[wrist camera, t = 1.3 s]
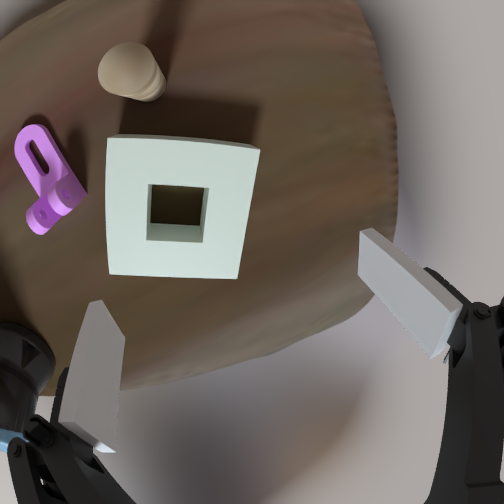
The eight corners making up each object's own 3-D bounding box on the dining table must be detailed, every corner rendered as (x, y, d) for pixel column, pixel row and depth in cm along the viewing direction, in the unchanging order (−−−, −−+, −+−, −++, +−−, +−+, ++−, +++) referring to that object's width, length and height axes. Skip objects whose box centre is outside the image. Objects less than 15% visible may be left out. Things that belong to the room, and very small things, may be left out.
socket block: (116, 254, 35) (109, 274, 30) (118, 134, 28) (107, 138, 23) (230, 259, 39) (236, 278, 35) (249, 144, 32) (260, 149, 28)
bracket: (87, 193, 30) (68, 213, 24) (59, 217, 30) (39, 239, 24) (40, 115, 23) (12, 118, 17) (14, 142, 23) (-15, 152, 17)
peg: (130, 101, 26) (94, 95, 14) (135, 69, 24) (103, 42, 12) (163, 102, 27) (148, 94, 15) (168, 70, 25) (158, 41, 14)
